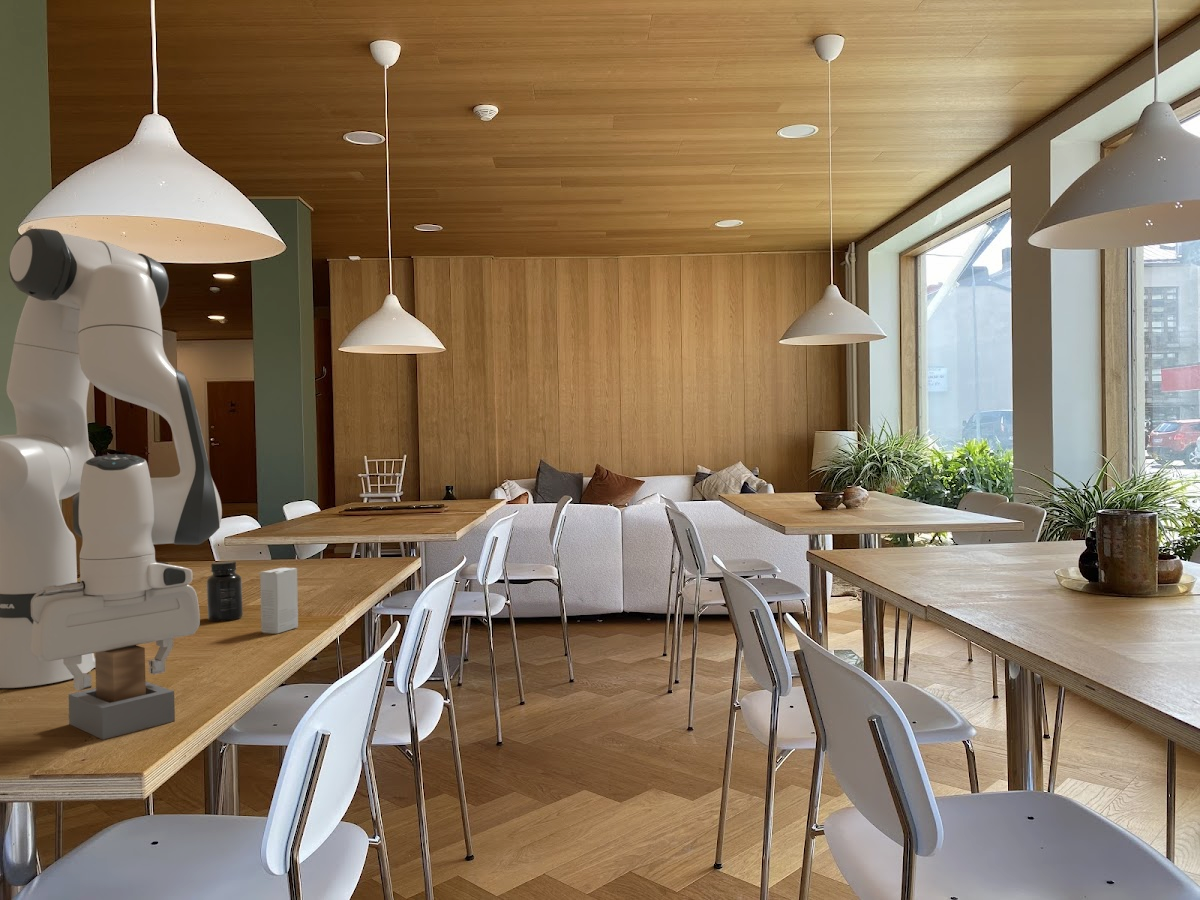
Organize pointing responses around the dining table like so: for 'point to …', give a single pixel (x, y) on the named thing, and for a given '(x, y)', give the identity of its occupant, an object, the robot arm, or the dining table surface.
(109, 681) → the walnut peg
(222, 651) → the dining table surface
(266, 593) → the skincare box
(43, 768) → the dining table surface
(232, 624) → the dining table surface
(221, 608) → the supplement bottle
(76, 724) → the holder
